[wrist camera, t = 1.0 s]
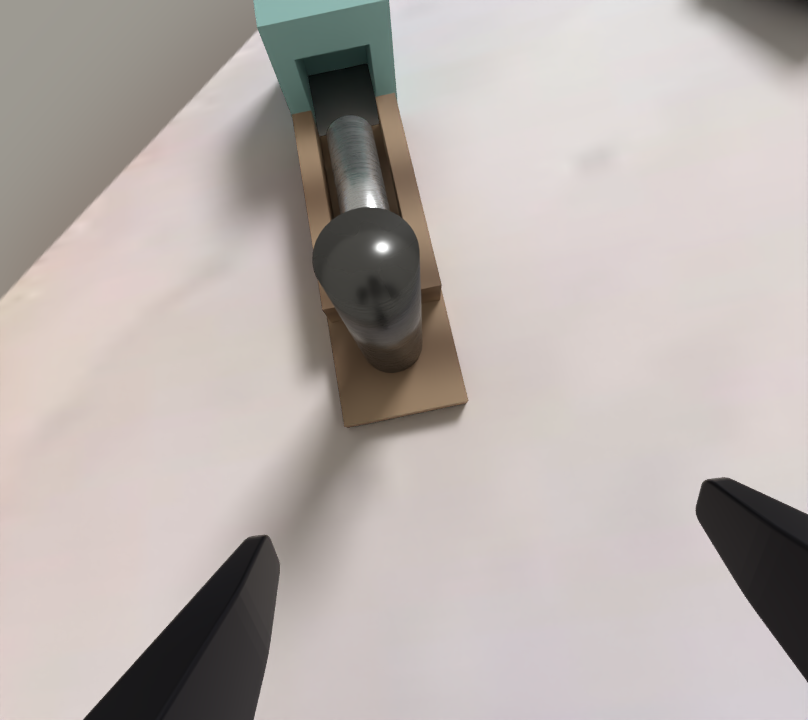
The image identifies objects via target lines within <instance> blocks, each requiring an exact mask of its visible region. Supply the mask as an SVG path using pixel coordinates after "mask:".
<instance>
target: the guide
mask: <svg viewBox="0 0 808 720" xmlns="http://www.w3.org/2000/svg"><path fill="white" fill-rule="evenodd" d="M376 105H377V112H378V119H379V124H377V125H372V126H371V127H372V131H373V136H374V140H375V145H376V149H377V154H378V158H379V163H380V168H381V172H382V177H383V181H384V186H385V190H386V195H387V200H388V204H389V209H390V211H391V212H393V213H395V214H397V215H398V216H400V217H401V218H403V219H404V220H405V221H406V222H407V223H408V224H409V225H410V226H411V228H412V229H413V231H414V233H415V235H416V237H417V240H418V243H419V249H420V280H421V311H422V344H423V345H422V350H421V353H420V356H419V357H418V359H417V360H416V362H415V363H414V364H413V365H412V366H410V367H409V368H407V369H406V370H403V371H400V372H396V373H387V372H383V371H380V370H378V369H376V368H374V367H373V366H372V365H371V364H369V362H368V361H367V360H366V358H365V357H364V355H363V353H362V352H361V350H360V348H359V347H358V345H357V343H356V342H355V340H354V338H353V337H352V335H351V333H350V332H349V330H348V329H347V327H346V325H345V324H344V322H343V320H342V319H341V317H340V315H339V314H338V312H337V310H336V309H335V307H334V305H333V304H332V302H331V300H330V299H329V297H328V296H327V294H326V292H325V291H324V289H323V287H322V286H321V284H320V282H319V281H318V284H319V291H320V297H321V304H322V310H323V311H324V313H325V314H326V316H327V320H328V326H329V333H330V339H331V345H332V352H333V358H334V364H335V370H336V377H337V383H338V389H339V396H340V402H341V408H342V415H343V421H344V426H345V427H347V428H349V427H354V426H359V425H364V424H369V423H374V422H379V421H383V420H388V419H393V418H398V417H403V416H408V415H412V414H417V413H422V412H427V411H432V410H437V409H441V408H446V407H451V406H456V405H461V404H466V403H467V402H468V398H467V393H466V389H465V385H464V381H463V377H462V373H461V369H460V365H459V360H458V356H457V352H456V348H455V344H454V340H453V336H452V332H451V328H450V323H449V319H448V315H447V311H446V307H445V303H444V299H443V295H442V290H441V281H440V277H439V272H438V268H437V264H436V260H435V256H434V252H433V248H432V244H431V240H430V236H429V231H428V227H427V223H426V219H425V215H424V211H423V207H422V203H421V199H420V195H419V190H418V186H417V182H416V178H415V174H414V170H413V166H412V162H411V158H410V153H409V149H408V145H407V141H406V137H405V133H404V129H403V125H402V121H401V117H400V112H399V108H398V104H397V100H396V96H395V93H391V94H386V95H381V96H377V97H376ZM292 118H293V124H294V131H295V137H296V144H297V150H298V156H299V163H300V169H301V176H302V182H303V188H304V195H305V201H306V208H307V214H308V220H309V227H310V233H311V240H312V246H313V249H314V245H315V242H316V240H317V238H318V236H319V234H320V233H321V231H322V230H323V228H324V227H325V226H326V225H327V224H328V223H329V222H330V221H331V220H332V219H334V218H335V217H337V216H338V215H340V208H339V203H338V197H337V192H336V186H335V181H334V175H333V170H332V164H331V159H330V153H329V148H328V142H327V135H324V136H320V135H319V132H318V129H317V126H316V123H315V120H314V117H313V114H312V111H311V110H310V111H305V112H301V113H296V114H292Z"/></svg>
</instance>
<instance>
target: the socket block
mask: <svg viewBox="0 0 808 720" xmlns="http://www.w3.org/2000/svg"><path fill="white" fill-rule="evenodd" d="M253 1H254V8H255V16H256V23H257V28H258V31H259V33H260V36H261V38H262V41H263V43H264V46H265V49H266V51H267V54H268V56H269V59H270V61H271V64H272V66H273V69H274V71H275V74H276V77H277V79H278V82H279V84H280V87H281V89H282V92H283V94H284V97H285V100H286V102H287V105H288V107H289V110H290V112H291V115H292V114H296V113H301V112H305V111H310V110H311V111H312V114H313V117H314V120H315V123H316V118H315V113H314V107H313V101H312V95H311V90H310V84H309V78H308V76H310V75H314V74H319V73H324V72H329V71H333V70H338V69H343V68H347V67H352V66H357V65H362V64H366V63H367V64H368V68H369V72H370V77H371V81H372V86H373V90H374V94H375V99H376V97H377V96H381V95H386V94H391V93H395V96H396V100H397V93H396V81H395V69H394V56H393V44H392V32H391V19H390V7H389V0H253ZM316 126H317V124H316Z"/></svg>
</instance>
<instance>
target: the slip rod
mask: <svg viewBox="0 0 808 720" xmlns="http://www.w3.org/2000/svg"><path fill="white" fill-rule="evenodd" d="M327 142H328V148H329V153H330V159H331V164H332V170H333V175H334V181H335V186H336V192H337V197H338V203H339V208H340V215H338V216H337V217H335V218H334V219H332V220H331V221H330V222H329V223H328V224H327V225H326V226H325V227H324V228H323V230H322V231H321V233H320V234H319V236H318V238H317V240H316V242H315V245H314V249H313V257H312V260H313V268H314V272H315V274H316V277H317V279H318V281H319V282H320V284H321V286H322V287H323V289H324V291H325V292H326V294H327V296H328V297H329V299H330V300H331V302H332V304H333V305H334V307H335V309H336V310H337V312H338V314H339V315H340V317H341V319H342V320H343V322H344V324H345V325H346V327H347V329H348V330H349V332H350V333H351V335H352V337H353V338H354V340H355V342H356V343H357V345H358V347H359V348H360V350H361V352H362V353H363V355H364V357H365V358H366V360H367V361H368V362H369V364H371V365H372V366H373V367H374V368H376V369H378V370H380V371H383V372H387V373H396V372H400V371H403V370H406V369H407V368H409V367H410V366H412V365H413V364H414V363H415V362H416V360H417V359H418V357H419V356H420V353H421V350H422V345H423V344H422V311H421V280H420V249H419V243H418V240H417V237H416V235H415V233H414V231H413V229H412V228H411V226H410V225H409V224H408V223H407V222H406V221H405V220H404V219H403V218H401V217H400V216H398V215H397V214H395V213H393V212H391V211H390V209H389V204H388V200H387V195H386V190H385V186H384V181H383V177H382V172H381V168H380V163H379V158H378V154H377V149H376V145H375V140H374V136H373V131H372V127H371V125H370V124H369V123H368V121H366V120H365V119H364V118H362V117H359V116H355V115H347V116H343V117H340V118H338V119H336V120H335V121H333V122H332V123H331V125H330V126H329V128H328V130H327Z"/></svg>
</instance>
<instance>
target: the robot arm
mask: <svg viewBox="0 0 808 720" xmlns="http://www.w3.org/2000/svg"><path fill="white" fill-rule="evenodd" d="M696 515H697V518H698V520H699V522H700V524H701V526H702V527H703V529H704V531H705V532H706V534H707V535H708V537H709V539H710V540H711V542H712V544H713V545H714V547H715V549H716V550H717V552H718V554H719V555H720V557H721V558H722V560H723V562H724V563H725V565H726V567H727V568H728V570H729V572H730V573H731V575H732V576H733V578H734V580H735V581H736V583H737V585H738V586H739V588H740V589H741V591H742V592H743V594H744V595H745V597H746V598H747V600H748V601H749V603H750V604H751V605H752V607H753V608H754V610H755V611H756V612H757V614H758V615H759V617H760V618H761V619H762V621H763V622H764V623H765V625H766V626H767V627H768V629H769V630H770V632H771V633H772V634H773V636H774V637H775V638H776V640H777V641H778V642H779V644H780V645H781V647H782V648H783V649H784V651H785V652H786V653H787V655H788V656H789V657H790V659H791V660H792V661H793V663H794V664H795V666H796V667H797V668H798V670H799V671H800V672H801V674H802V675H803V676H804V678H805V679H806V681H807V682H808V514H806V513H804V512H802V511H799V510H797V509H795V508H793V507H791V506H789V505H786V504H784V503H782V502H780V501H778V500H776V499H773V498H771V497H769V496H767V495H765V494H763V493H761V492H758V491H756V490H754V489H752V488H750V487H748V486H745V485H743V484H741V483H739V482H737V481H735V480H732V479H730V478H725V477H722V478H713V479H707V480H705V481H704V482H703V483H702V485H701V489H700V493H699V496H698V500H697V504H696ZM279 574H280V564H279V559H278V557H277V554H276V552H275V549H274V547H273V544H272V542H271V539H270V537H269V536H267V535H258V536H251V537H248V538H247V539H245V540H244V541H243V542H242V544H241V545H240V546H239V547H238V548H237V549H236V550H235V551H234V552H233V554H232V555H231V556H230V557H229V558H228V559H227V560H226V561H225V562H224V564H223V565H222V566H221V567H220V568H219V569H218V570H217V571H216V572H215V574H214V575H213V576H212V577H211V578H210V579H209V580H208V581H207V582H206V584H205V585H204V586H203V587H202V588H201V589H200V590H199V591H198V592H197V594H196V595H195V596H194V597H193V598H192V599H191V600H190V601H189V602H188V604H187V605H186V606H185V607H184V608H183V609H182V610H181V611H180V612H179V614H178V615H177V616H176V617H175V618H174V619H173V620H172V621H171V622H170V624H169V625H168V626H167V627H166V628H165V629H164V630H163V631H162V632H161V634H160V635H159V636H158V637H157V638H156V639H155V640H154V641H153V642H152V644H151V645H150V646H149V647H148V648H147V649H146V650H145V651H144V652H143V654H142V655H141V656H140V657H139V658H138V659H137V660H136V661H135V662H134V664H133V665H132V666H131V667H130V668H129V669H128V670H127V671H126V672H125V674H124V675H123V676H122V677H121V678H120V679H119V680H118V681H117V682H116V684H115V685H114V686H113V687H112V688H111V689H110V690H109V691H108V692H107V694H106V695H105V696H104V697H103V698H102V699H101V700H100V701H99V702H98V704H97V705H96V706H95V707H94V708H93V709H92V710H91V711H90V712H89V714H88V715H87V716H86V717H85V718H84V719H83V720H254V716H255V711H256V707H257V703H258V698H259V694H260V690H261V685H262V681H263V677H264V673H265V668H266V663H267V659H268V654H269V648H270V641H271V634H272V626H273V619H274V611H275V604H276V596H277V589H278V581H279Z"/></svg>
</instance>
